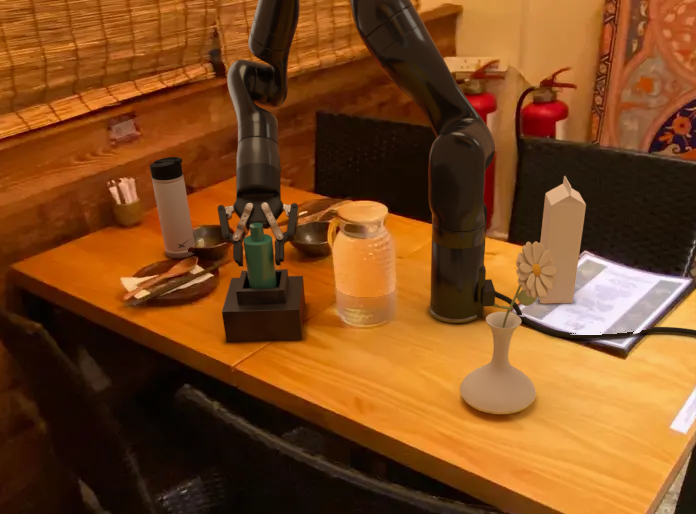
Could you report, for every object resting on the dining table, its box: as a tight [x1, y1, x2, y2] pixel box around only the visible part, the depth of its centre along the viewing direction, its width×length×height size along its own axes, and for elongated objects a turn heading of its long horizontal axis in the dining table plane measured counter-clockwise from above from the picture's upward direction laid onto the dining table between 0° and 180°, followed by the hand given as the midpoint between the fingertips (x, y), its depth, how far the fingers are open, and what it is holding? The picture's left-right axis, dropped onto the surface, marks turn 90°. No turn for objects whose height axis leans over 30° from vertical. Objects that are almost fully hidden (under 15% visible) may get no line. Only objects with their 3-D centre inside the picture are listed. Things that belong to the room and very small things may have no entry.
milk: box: [537, 175, 587, 304], centre depth 140 cm, size 6×6×22 cm
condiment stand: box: [221, 268, 306, 343], centre depth 137 cm, size 13×13×8 cm
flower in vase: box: [459, 241, 557, 415], centre depth 112 cm, size 13×11×25 cm
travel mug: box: [149, 156, 196, 259], centre depth 160 cm, size 6×7×20 cm
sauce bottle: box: [243, 223, 277, 289], centre depth 133 cm, size 5×5×12 cm
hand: (259, 264), depth 131 cm, fingers open, 5 cm apart
